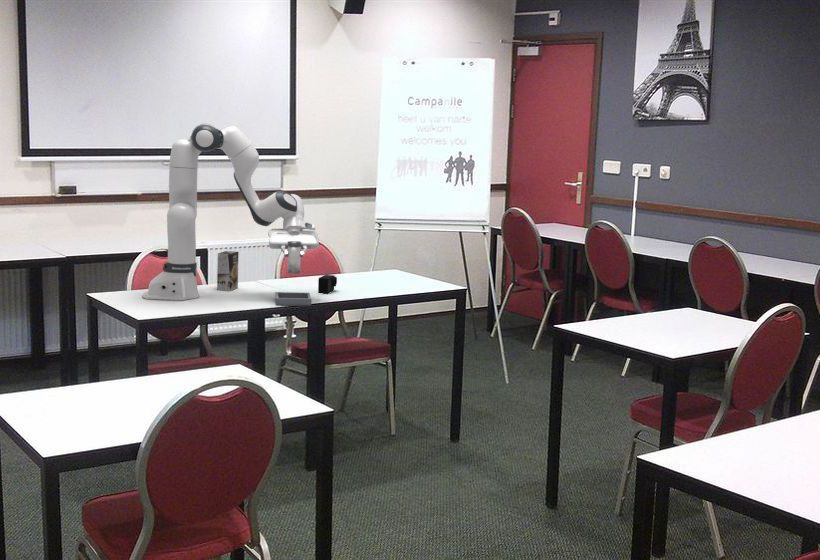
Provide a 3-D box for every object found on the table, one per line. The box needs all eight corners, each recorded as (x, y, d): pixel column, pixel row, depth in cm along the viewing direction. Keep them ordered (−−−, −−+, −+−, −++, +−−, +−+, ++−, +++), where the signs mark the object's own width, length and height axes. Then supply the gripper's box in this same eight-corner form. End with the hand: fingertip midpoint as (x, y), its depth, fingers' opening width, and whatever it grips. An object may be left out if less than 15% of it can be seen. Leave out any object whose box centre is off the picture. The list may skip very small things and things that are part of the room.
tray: (275, 305, 382) (276, 298, 382) (275, 299, 396) (275, 292, 395) (311, 306, 384) (311, 298, 384) (309, 299, 398) (309, 292, 398)
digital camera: (330, 294, 413) (330, 278, 412) (318, 293, 414) (318, 277, 413) (336, 290, 423) (337, 275, 422) (324, 290, 424) (325, 274, 423)
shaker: (287, 273, 385) (287, 242, 383) (286, 271, 390) (287, 240, 388) (300, 273, 386) (301, 242, 384) (300, 271, 391) (300, 241, 389)
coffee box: (230, 291, 410) (231, 253, 407) (216, 290, 411) (216, 252, 409) (238, 288, 419) (239, 251, 416) (224, 286, 420) (225, 250, 417)
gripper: (268, 223, 390) (268, 250, 382) (318, 224, 393) (319, 251, 386) (268, 233, 395) (268, 260, 387) (317, 234, 399) (318, 261, 391)
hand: (294, 256), depth 386 cm, fingers closed on shaker, 5 cm apart
